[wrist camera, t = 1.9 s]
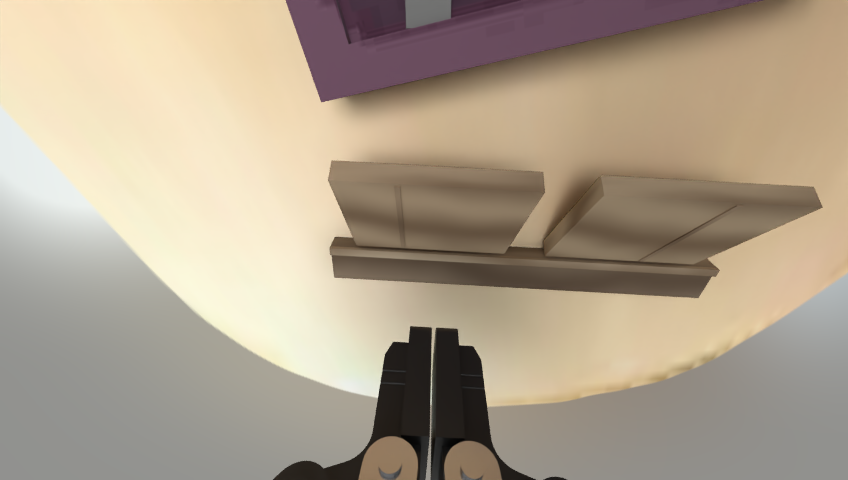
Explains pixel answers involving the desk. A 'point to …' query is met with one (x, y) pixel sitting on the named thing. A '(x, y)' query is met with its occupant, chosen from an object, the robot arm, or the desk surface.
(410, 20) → the purple gear tray
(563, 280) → the strip
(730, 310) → the desk surface
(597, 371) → the desk surface
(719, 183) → the plank
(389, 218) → the plank
